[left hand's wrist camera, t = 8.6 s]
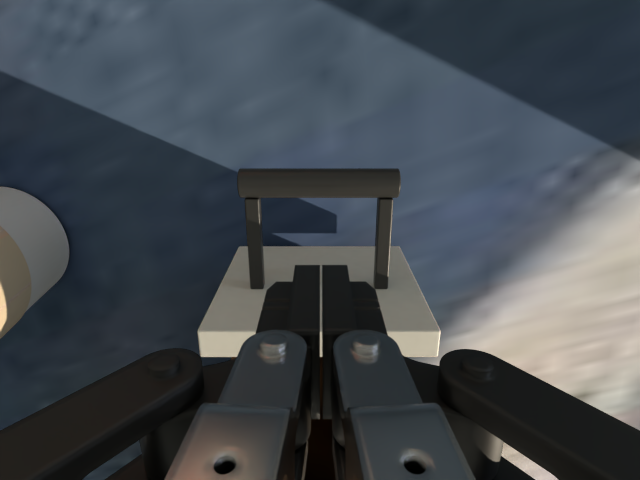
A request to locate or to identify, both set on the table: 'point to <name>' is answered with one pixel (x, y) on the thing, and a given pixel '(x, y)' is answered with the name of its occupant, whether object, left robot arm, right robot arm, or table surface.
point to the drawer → (278, 266)
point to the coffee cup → (27, 254)
